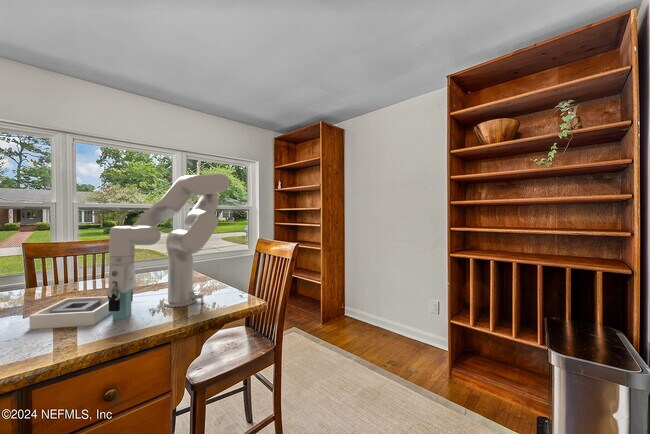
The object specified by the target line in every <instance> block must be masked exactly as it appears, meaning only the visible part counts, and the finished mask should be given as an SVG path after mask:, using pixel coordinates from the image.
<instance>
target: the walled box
mask: <svg viewBox="0 0 650 434" xmlns="http://www.w3.org/2000/svg"><path fill="white" fill-rule="evenodd" d="M110 314H113V311H112V312H109V301H108V295H107V296H88V297H87V296H86V297H85V296H84V297H83V296H81V297H67V298H64V299H62V300H61V301H59V302H56V303H54V304H52V305H49V306H47V307H46V308H43V309H41V310H39V311H36V312H34V313H32V314H31V315H29V318H28V319H29V320H28V321H29V322H28V323H29V324H28V325H29V330H37V329H38V330H39V329H54V328H56V329H57V328H69V327H70V328H71V327H73V328H74V327H85V326H87V327H88V326H95V324H98V323H99V322H100V321H102V320H104V319H105V318H106V317H108V316H109V315H110Z"/></svg>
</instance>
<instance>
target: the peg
mask: <svg viewBox="0 0 650 434" xmlns="http://www.w3.org/2000/svg"><path fill="white" fill-rule="evenodd" d="M115 295H116V296H117V294H115ZM119 299H120V310H119V311H113V312H112V320H113V321H117V320H118V321H119V320H126V319H127V320H128V319H129V318H130V316H132V302H131V289H130V290H129V291H127V292H125V293H122V292H121V294H120V297H119Z"/></svg>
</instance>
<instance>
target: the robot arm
mask: <svg viewBox="0 0 650 434" xmlns="http://www.w3.org/2000/svg"><path fill="white" fill-rule="evenodd" d="M229 188H230V179H229V177H228V176H226V175H225V174H222V173H212V174H211V173H209V174H191V175H189V174H188V175H183V176H180V177H178V179H177V180H176V181H175V182H174V183H173V184H172V186H171V187H170V188H169V189H168V190H166V192H165V194H164V195H162V197H161V198H160V199H159V201H157V202H156V203H154V204H153V205H152V206H150V208H148V209H147V210H146V211H144V212H143V213H142V214H141V215H140V216H139V218H137V220H136V221H135V222H134V223H133V224H132V225H131V226H125V225H124V226H112V227H111V228H110V230H109V241H108V243H109V246H108V248H109V249H108V250H109V252H108V257H109V258H108V266H110V267H109V273H108V288H107V290H106V293H107V294H106V295H107V296H108V301H109V312H112V311H119V310H120V299H119V297H120V294H121V292H122V293H125V292H127V291H129V290H130V289H131V303H132V302H133V299H134V298H133V297H134V287H135V286H136V269H135V253H136V251H135V248H136V246H154V245H155V244H157V243H158V242H160V240H161V237H162V234H161V231H160V230H159V229H158V228H157V227H158V226H159V225H160V224H161V223H162V222H163V221H166V220H167V219H169V218H172V217H175V216H176V215H177V214H179V213H180V212H181V211H182V209H183V208H184V207H185V205H186V204H187V203H188V202H189V200H190V199H191V198H192V196H200V198H199V200H198V202H197V203H196V204H195V205H194V207H192V209H191V210H190V211H189V212H188V214H187V215H186V217H185V218H184V225H185V227H186V228H187V229H181V228H180V229H175V230H172V231H170V233H169V234H168V235H167V237H166V242H165V246H166V250H167V262H168V263H167V298H166V299H164V301H163V306H165V307H168V308H180V307H185V306H191V305H192V304H194V303H196V302H197V299H203V298H204V293H202V292H196V291H195V289H194V257H193V255H194V254H197V253H199V252H200V251H201V250H202V249H203V248H204V247H205V245H206V243H207V242H208V240H209V239H210V238H211V237H212V236H213V234H214V232H215V231H216V229H217V228H218V223H219V219H218V216H217V215H216V213H215V212H216V210H217V209H218V208H219V202H220V201H219V195H218V194H222V193H224V192H226V191H228V189H229ZM115 294H117V296H116V295H115ZM112 313H113V312H112Z"/></svg>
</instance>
